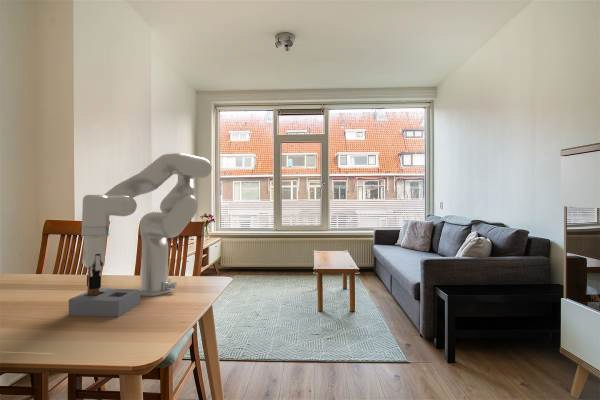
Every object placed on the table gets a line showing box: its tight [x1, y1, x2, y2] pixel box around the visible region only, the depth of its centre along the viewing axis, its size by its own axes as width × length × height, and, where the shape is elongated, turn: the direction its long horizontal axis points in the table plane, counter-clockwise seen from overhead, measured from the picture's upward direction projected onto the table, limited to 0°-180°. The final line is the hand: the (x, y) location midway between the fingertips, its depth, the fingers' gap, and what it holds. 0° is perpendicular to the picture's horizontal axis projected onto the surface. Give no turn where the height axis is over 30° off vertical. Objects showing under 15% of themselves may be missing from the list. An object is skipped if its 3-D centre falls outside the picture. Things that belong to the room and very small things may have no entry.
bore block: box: [67, 287, 141, 318], centre depth 101 cm, size 16×12×5 cm
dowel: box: [87, 265, 99, 296], centre depth 100 cm, size 3×3×10 cm
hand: (93, 286), depth 100 cm, fingers closed on dowel, 3 cm apart
